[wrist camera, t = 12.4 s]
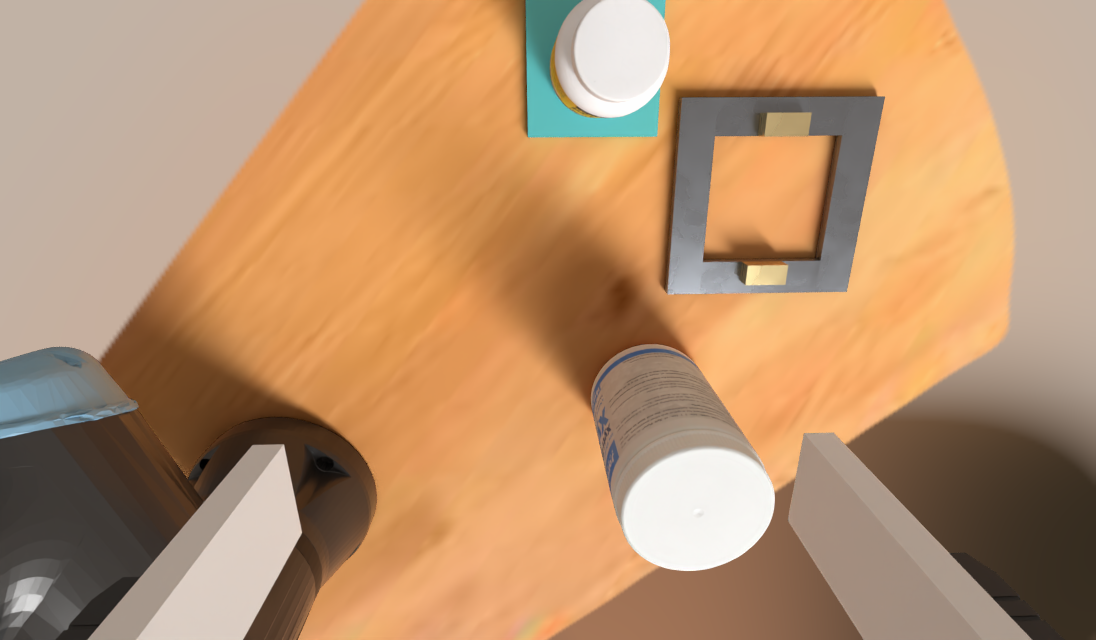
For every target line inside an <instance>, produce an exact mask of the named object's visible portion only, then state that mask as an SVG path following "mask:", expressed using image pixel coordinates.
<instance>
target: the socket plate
mask: <svg viewBox="0 0 1096 640" xmlns="http://www.w3.org/2000/svg"><path fill="white" fill-rule="evenodd" d="M884 99H885V97H689V98H679V106H678V119H677V133H676V147H675V160H674V174H673V188H672V201H671V215H670V229H669V242H668V256H667V269H666V283H665V292H666V293H667V294H718V293H788V292H847V288H848V283H849V277H850V272H851V267H852V262H853V257H854V252H855V247H856V242H857V237H858V232H859V227H860V221H861V216H862V211H863V206H864V201H865V196H866V191H867V186H868V181H869V176H870V170H871V165H872V160H873V155H874V150H875V145H876V140H877V135H878V130H879V125H880V119H881V114H882V109H883V104H884ZM815 135H836V140H835V145H834V151H833V157H832V163H831V169H830V175H829V180H828V186H827V192H826V198H825V204H824V210H823V216H822V221H821V227H820V233H819V239H818V245H817V251H816V257H815V258H782V259H703V253H704V243H705V233H706V222H707V212H708V202H709V191H710V181H711V171H712V160H713V150H714V140H715V136H815Z"/></svg>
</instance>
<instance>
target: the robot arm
mask: <svg viewBox="0 0 1096 640" xmlns="http://www.w3.org/2000/svg"><path fill="white" fill-rule="evenodd" d="M137 408H139V406H138V403H137V402H136V400H132V399H129V398H128V396H127V395H126V394H125V393H124V392H123V390H122V389H121V388H120V387H119V386H118V384H117V383H116V382H115V381H114V380H113V378H112V377H111V376H110V375H109V374H108V372H107V371H106V370H105V369H104V368H103V366H102V365H101V364H100V363H99V362H98V361H97V360H96V359H95V358H94V357H93V356H91V355H90V354H88V353H86V352H84V351H81V350H78V349H75V348H69V347H51V348H46V349H42V350H38V351H34V352H31V353H27V354H24V355H20V356H17V357H13V358H10V359H7V360H3V361H0V640H298V638H299V636H300V633H301V631H302V628H303V626H304V624H305V621H306V619H307V617H308V614H309V612H310V610H311V607H312V605H313V603H314V600H315V598H316V596H317V594H318V592H319V590H320V588H321V587H322V586H323V585H324V584H325V583H326V582H327V581H328V579H329V578H330V577H331V576H332V575H333V574H334V573H335V572H336V571H337V570H338V569H339V568H340V566H341V565H342V564H343V563H344V562H345V561H346V560H347V559H348V558H350V557H351V556H352V555H353V554H354V553H355V552H356V550H357V549H358V548H359V546H360V545H361V543H362V542H363V540H364V538H365V536H366V534H367V532H368V529H369V527H370V524H371V522H372V519H373V517H374V514H375V510H376V503H377V494H376V487H375V483H374V479H373V476H372V474H371V472H370V470H369V468H368V466H367V464H366V463H365V461H364V460H363V458H362V457H361V456H360V455H359V453H358V452H357V451H356V450H355V449H354V448H353V447H352V446H351V445H350V444H348V443H347V442H346V441H345V440H343V439H342V438H341V437H339V436H338V435H336V434H335V433H333V432H331V431H329V430H327V429H325V428H323V427H321V426H318V425H316V424H313V423H310V422H306V421H303V420H298V419H292V418H282V417H271V418H260V419H255V420H251V421H247V422H244V423H242V424H239V425H237V426H235V427H233V428H231V429H229V430H228V431H226V432H225V433H224V434H222V435H221V436H220V437H219V438H218V439H217V440H216V441H215V442H214V443H213V444H212V445H211V446H210V447H209V448H208V449H207V450H206V451H205V452H204V453H203V454H202V455H201V457H200V458H199V459H198V461H197V462H196V464H195V465H194V467H193V469H192V471H191V473H190V475H189V478H188V479H187V478H186V476H185V475H184V474H183V472H182V471H181V469H180V468H179V467H178V465H177V464H176V463H175V461H174V460H173V458H172V457H171V456H170V454H169V453H168V452H167V450H166V449H165V447H164V446H163V445H162V443H161V442H160V441H159V439H158V438H157V436H156V435H155V434H154V432H153V431H152V430H151V428H150V427H149V425H148V424H147V423H146V421H145V420H144V418H143V417H142V415H141V414H140V412H139V411H138V410H137ZM788 521H789V523H790V525H791V526H792V528H793V529H794V531H795V533H796V534H797V535H798V537H799V539H800V540H801V542H802V544H803V545H804V547H805V548H806V550H807V551H808V553H809V555H810V556H811V558H812V559H813V561H814V562H815V564H816V566H817V567H818V568H819V570H820V572H821V573H822V575H823V576H824V578H825V580H826V581H827V583H828V584H829V586H830V587H831V589H832V591H833V592H834V594H835V595H836V596H837V598H838V600H839V602H840V603H841V605H842V606H843V608H844V609H845V611H846V613H847V614H848V616H849V617H850V619H851V620H852V622H853V623H854V625H855V627H856V628H857V630H858V631H859V633H860V634H861V636H862V638H863V639H864V640H1064V639H1063V638H1062V637H1061V636H1060V635H1059V634H1058V633H1057V632H1056V631H1055V630H1054V629H1053V628H1052V627H1051V626H1050V625H1049V624H1048V623H1047V622H1046V621H1045V620H1041V619H1040V617H1039V614H1038V613H1036V611H1035V610H1033V608H1031V607H1030V606H1029V605H1028V604H1027V603H1026V602H1025V601H1024V600H1020V598H1019V595H1018V594H1017V593H1016V592H1015V591H1014V590H1013V589H1012V588H1011V587H1010V586H1009V585H1008V584H1007V583H1006V582H1005V581H1004V580H1003V579H1002V578H1001V577H1000V576H999V575H998V574H997V573H996V572H994V571H993V570H991V569H990V568H988V567H987V566H985V565H983V564H982V563H980V562H979V561H977V560H976V559H974V558H973V557H971V556H970V555H968V554H966V553H948V552H947V551H946V549H945V548H944V547H943V546H942V545H941V544H940V543H939V542H938V541H937V540H936V539H935V538H934V537H933V536H932V535H931V534H930V533H929V532H928V531H927V530H926V529H925V528H924V527H923V526H922V524H921V523H920V522H919V521H918V520H917V519H916V518H915V517H914V516H913V515H912V514H911V513H910V512H909V511H908V510H907V509H906V508H905V507H904V506H903V505H902V504H901V503H900V502H899V500H898V499H897V498H896V497H895V496H894V495H893V494H892V493H891V492H890V491H889V490H888V489H887V488H886V487H885V486H884V485H883V484H882V483H881V482H880V481H879V480H878V479H877V478H876V477H875V475H874V474H873V473H872V472H871V471H870V470H869V469H868V468H867V467H866V466H865V465H864V464H863V463H862V462H861V461H860V460H859V459H858V458H857V457H856V456H855V455H854V454H853V453H852V452H851V450H850V449H849V448H848V447H847V446H846V445H845V444H844V443H843V442H842V441H841V440H840V439H839V438H838V437H837V436H836V435H835V434H834V433H804V436H803V441H802V446H801V452H800V457H799V463H798V468H797V474H796V479H795V485H794V490H793V495H792V501H791V506H790V512H789V517H788Z"/></svg>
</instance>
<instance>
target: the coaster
mask: <svg viewBox="0 0 1096 640" xmlns="http://www.w3.org/2000/svg"><path fill="white" fill-rule="evenodd" d="M581 1H582V0H526V53H527V110H528V137H651V136H657V130H658V113H659V97H660V88H659V90H658V91H657V93H656V94H655V95H654V96H653V97H652V99H651V100H650V101H649V102H648V103H646V104H645V105H644V106H643V107H641V108H640V109H638V110H636V111H635V112H632V113H630V114H628V115H625V116H623V117H615V118H589V117H584V116H581V115H578V114H576V113H574V112H573V111H571V110H570V109H569V108H567V107H566V106H565V105H564V104H563V103H562V102H561V101H560V99H559V98H558V96H557V95H556V93H555V91H554V88H553V86H552V82H551V78H550V57H551V53H552V49H553V46H554V44H555V41H556V38H557V36H558V33H559V30H560V28H561V26H562V24H563V22H564V20H565V19H566V17H567V16H568V14H569V13H570V12H571V11H572V9H573V8H574V7H575V6H576V5H577V4H579V3H580V2H581ZM647 1H648V2H649V3H651V4H652V5H653V6H654V7H655V8H656V9H657V10H658V11H659V13H660V14H661V16H662V17H663V19H664V16H665V0H647Z"/></svg>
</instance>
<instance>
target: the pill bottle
mask: <svg viewBox="0 0 1096 640" xmlns="http://www.w3.org/2000/svg"><path fill="white" fill-rule="evenodd" d="M669 55H670V40H669V33H668V29H667V26H666V23H665V21H664V19H663V17H662V16H661V14H660V13H659V11H658V10H657V9H656V8H655V7H654V6H653V5H652V4H651V3H649V2H648V1H647V0H582V1H581V2H580V3H579V4H577V5H576V6H575V7H574V8H573V9H572V11H571V12H570V13H569V14H568V16H567V17H566V19H565V20H564V22H563V24H562V26H561V28H560V30H559V33H558V36H557V38H556V41H555V44H554V46H553V49H552V53H551V57H550V78H551V82H552V86H553V88H554V91H555V93H556V95H557V96H558V98H559V99H560V101H561V102H562V103H563V104H564V105H565V106H566V107H567V108H569V109H570V110H571V111H573V112H574V113H576V114H578V115H581V116H584V117H589V118H615V117H623V116H625V115H628V114H630V113H632V112H635V111H636V110H638V109H640V108H641V107H643V106H644V105H645V104H646V103H648V102H649V101H650V100H651V99H652V97H653V96H654V95H655V94H656V93H657V91H658V90H659V88H660V86H661V84H662V82H663V80H664V78H665V75H666V73H667V69H668V64H669Z"/></svg>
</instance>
